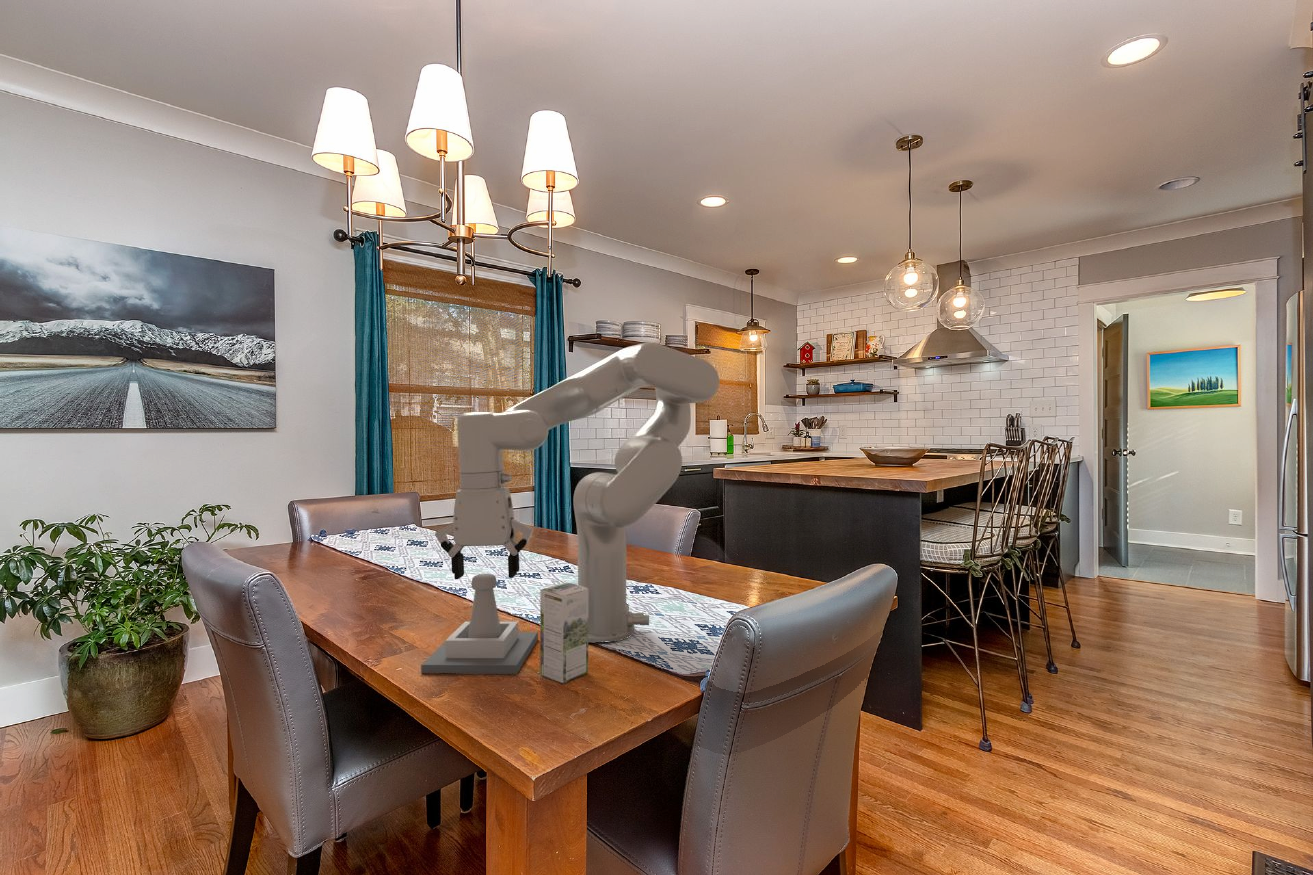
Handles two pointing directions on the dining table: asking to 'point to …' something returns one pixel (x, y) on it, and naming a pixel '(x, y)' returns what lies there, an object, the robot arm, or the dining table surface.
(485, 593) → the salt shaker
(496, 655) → the grey square base
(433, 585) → the dining table surface
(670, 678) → the dining table surface
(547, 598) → the syrup box
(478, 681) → the dining table surface
